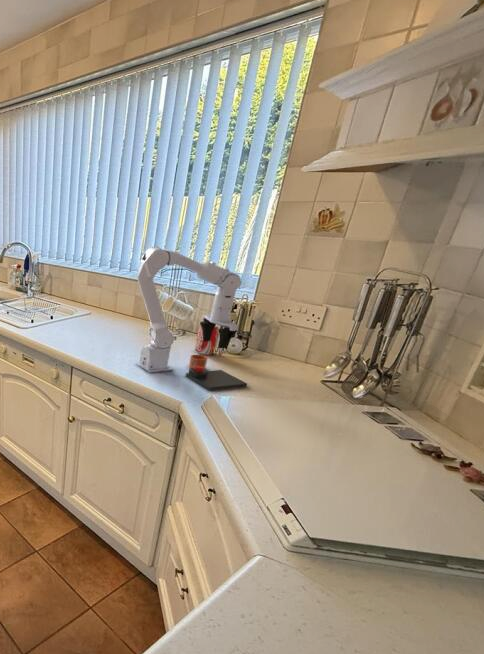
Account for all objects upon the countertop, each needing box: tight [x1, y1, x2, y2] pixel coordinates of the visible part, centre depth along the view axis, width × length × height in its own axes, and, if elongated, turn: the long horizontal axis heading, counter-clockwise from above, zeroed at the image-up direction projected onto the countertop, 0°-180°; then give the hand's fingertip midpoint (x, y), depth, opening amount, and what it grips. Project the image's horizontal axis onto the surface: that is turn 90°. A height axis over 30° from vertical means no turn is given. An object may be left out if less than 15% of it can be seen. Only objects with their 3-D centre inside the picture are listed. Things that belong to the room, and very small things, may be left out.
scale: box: [185, 367, 248, 392], centre depth 136 cm, size 14×13×3 cm
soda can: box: [194, 324, 220, 356], centre depth 160 cm, size 7×7×12 cm
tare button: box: [194, 365, 204, 372], centre depth 137 cm, size 3×3×2 cm
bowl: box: [188, 354, 208, 370], centre depth 146 cm, size 5×5×4 cm
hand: (213, 344), depth 141 cm, fingers open, 7 cm apart
